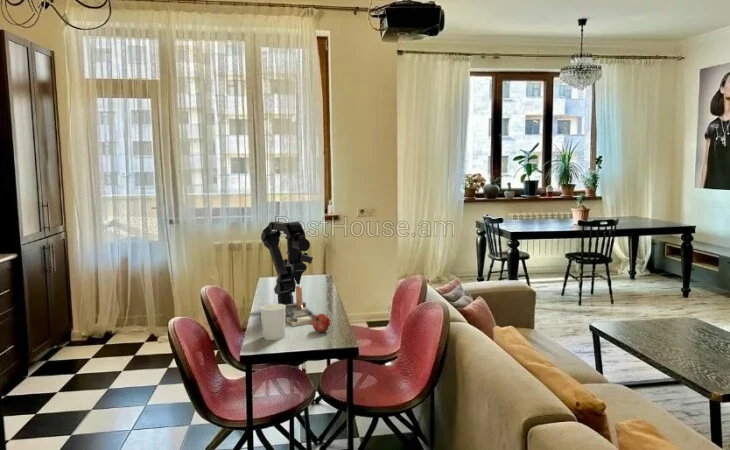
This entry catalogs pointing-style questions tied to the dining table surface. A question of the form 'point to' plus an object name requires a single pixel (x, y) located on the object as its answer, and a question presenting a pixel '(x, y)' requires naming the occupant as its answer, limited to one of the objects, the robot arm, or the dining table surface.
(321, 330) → the pomegranate
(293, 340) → the dining table surface
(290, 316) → the press frame
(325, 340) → the dining table surface
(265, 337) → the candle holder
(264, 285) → the dining table surface
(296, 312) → the press jaw
